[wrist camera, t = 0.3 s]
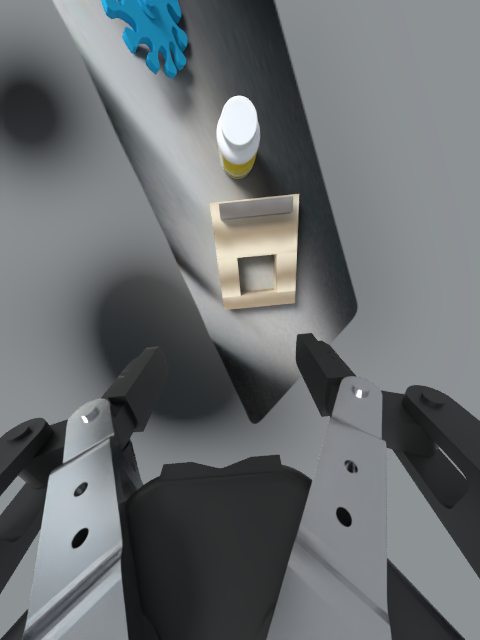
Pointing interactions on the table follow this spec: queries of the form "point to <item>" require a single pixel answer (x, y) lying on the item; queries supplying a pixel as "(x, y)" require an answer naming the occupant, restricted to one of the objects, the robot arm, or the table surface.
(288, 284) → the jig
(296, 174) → the table surface
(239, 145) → the supplement bottle
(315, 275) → the table surface
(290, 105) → the table surface
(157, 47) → the blue lobed piece
